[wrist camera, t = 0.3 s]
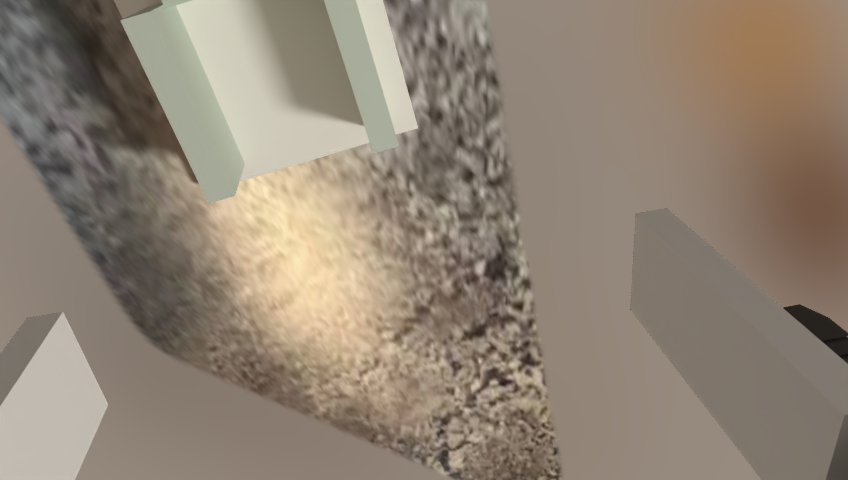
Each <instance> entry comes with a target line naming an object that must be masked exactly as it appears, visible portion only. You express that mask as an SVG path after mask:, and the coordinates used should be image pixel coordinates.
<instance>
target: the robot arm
mask: <svg viewBox="0 0 848 480" xmlns="http://www.w3.org/2000/svg"><path fill="white" fill-rule="evenodd" d="M630 307H631V308H630V310H631V311H632V312H633V314H634V315H635V316H636V317H637V319H638V320H639V321H640V322H641V324H642V325H643V327H644V328H645V329H646V330H647V332H648V333H649V334H650V336H651V337H652V338H653V340H654V341H655V342H656V343H657V345H658V346H659V347H660V349H661V350H662V351H663V352H664V354H665V355H666V356H667V357H668V359H669V360H670V362H671V363H672V364H673V365H674V367H675V368H676V369H677V371H678V372H679V373H680V374H681V376H682V377H683V378H684V380H685V381H686V382H687V384H688V385H689V386H690V387H691V389H692V390H693V391H694V393H695V394H696V395H697V397H698V398H699V399H700V400H701V402H702V403H703V404H704V406H705V407H706V408H707V410H708V411H709V412H710V413H711V415H712V416H713V417H714V419H715V420H716V421H717V422H718V424H719V425H720V426H721V428H722V429H723V430H724V432H725V433H726V434H727V435H728V437H729V438H730V439H731V441H732V442H733V443H734V444H735V446H736V447H737V448H738V450H739V451H740V452H741V453H742V455H743V456H744V457H745V459H746V460H747V461H748V462H749V464H750V465H751V467H752V468H753V469H754V470H755V472H756V473H757V474H758V476H759V477H760V478H761V479H762V480H848V333H847V332H846V331H844V330H843V329H842V328H841V327H840V326H838V325H837V324H836V323H834V322H833V321H832V320H831V319H830V318H828V317H826V316H824V315H821V314H819V313H817V312H815V311H813V310H811V309H808V308H806V307H804V306H802V305H794V306H789V307H784V308H782V307H781V306H780V305H779V304H778V303H777V302H775V301H774V300H773V299H772V298H771V297H770V296H768V295H767V294H766V293H765V292H764V291H763V290H761V289H760V288H759V287H758V286H757V285H756V284H754V283H753V282H752V281H751V280H750V279H749V278H747V277H746V276H745V275H744V274H743V273H741V272H740V271H739V270H738V269H737V268H736V267H735V266H733V265H732V264H731V263H730V262H729V261H728V260H727V259H725V258H724V257H723V256H722V255H721V254H719V253H718V252H717V251H716V250H715V249H714V248H713V247H711V246H710V245H709V244H708V243H707V242H706V241H704V240H703V239H702V238H701V237H700V236H699V235H697V234H696V233H695V232H694V231H693V230H692V229H691V228H689V227H688V226H687V225H686V224H685V223H684V222H682V221H681V220H680V219H679V218H678V217H676V216H675V215H674V214H673V213H672V212H671V211H670V210H668V209H667V208H665V209H659V210H653V211H647V212H641V213H637V214H636V216H635V234H634V252H633V270H632V287H631V306H630ZM107 406H108V404H107V402H106V399H105V397H104V395H103V393H102V391H101V389H100V387H99V385H98V383H97V381H96V379H95V377H94V375H93V373H92V371H91V369H90V366H89V364H88V362H87V360H86V358H85V356H84V354H83V352H82V350H81V348H80V346H79V344H78V342H77V340H76V338H75V336H74V334H73V332H72V330H71V327H70V326H69V323H68V321H67V319H66V317H65V315H64V313H63V312H58V313H53V314H47V315H42V316H35V317H29V318H27V319H26V320H25V321H24V323H23V324H22V325H21V327H20V328H19V329H18V331H17V332H16V334H15V335H14V336H13V338H12V339H11V340H10V342H9V343H8V344H7V346H6V347H5V348H4V350H3V351H2V352H1V354H0V480H75V478H76V476H77V474H78V471H79V469H80V467H81V465H82V462H83V460H84V458H85V456H86V453H87V451H88V449H89V447H90V444H91V442H92V439H93V437H94V435H95V433H96V431H97V429H98V426H99V424H100V422H101V420H102V417H103V415H104V413H105V411H106V408H107Z"/></svg>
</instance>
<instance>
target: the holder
mask: <svg viewBox="0 0 848 480" xmlns="http://www.w3.org/2000/svg"><path fill="white" fill-rule="evenodd" d="M114 2H115V4H116V6H117V8H118V10H119V12H120V14H121V17H122V20H120V21H121V23H122V25H123V27H124V29H125V32H126V34H127V36H128V38H129V40H130V42H131V44H132V46H133V48H134V50H135V52H136V54H137V56H138V58H139V60H140V63H141V65H142V67H143V69H144V71H145V73H146V75H147V77H148V79H149V81H150V83H151V85H152V87H153V89H154V91H155V94H156V96H157V98H158V100H159V102H160V104H161V106H162V108H163V110H164V112H165V114H166V116H167V118H168V120H169V122H170V125H171V127H172V129H173V131H174V133H175V135H176V137H177V139H178V141H179V143H180V145H181V147H182V149H183V151H184V153H185V156H186V158H187V160H188V162H189V164H190V166H191V168H192V170H193V172H194V174H195V176H196V178H197V180H198V182H199V184H200V187H201V189H202V191H203V193H204V195H205V197H206V199H207V201H208V203H212V202H215V201H218V200H222V199H225V198H228V197H232V196H235V193H236V190H237V187H238V184H239V182H240V181H243V180H247V179H250V178H253V177H257V176H260V175H263V174H267V173H270V172H273V171H277V170H280V169H283V168H287V167H290V166H293V165H297V164H300V163H303V162H307V161H310V160H313V159H317V158H320V157H323V156H327V155H330V154H333V153H337V152H340V151H343V150H347V149H350V148H353V147H356V146H360V145H363V144H366V143H370V145H371V149H372V152H373V154H375V153H378V152H381V151H385V150H388V149H391V148H395V147H398V146H399V144H398V140H397V137H396V134H400V133H403V132H406V131H410V130H413V129H416V128H418V126H417V123H416V119H415V115H414V112H413V108H412V104H411V101H410V97H409V94H408V90H407V86H406V83H405V79H404V76H403V72H402V68H401V65H400V61H399V58H398V54H397V50H396V47H395V43H394V40H393V36H392V32H391V29H390V25H389V21H388V18H387V14H386V11H385V7H384V3H383V0H114Z"/></svg>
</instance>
